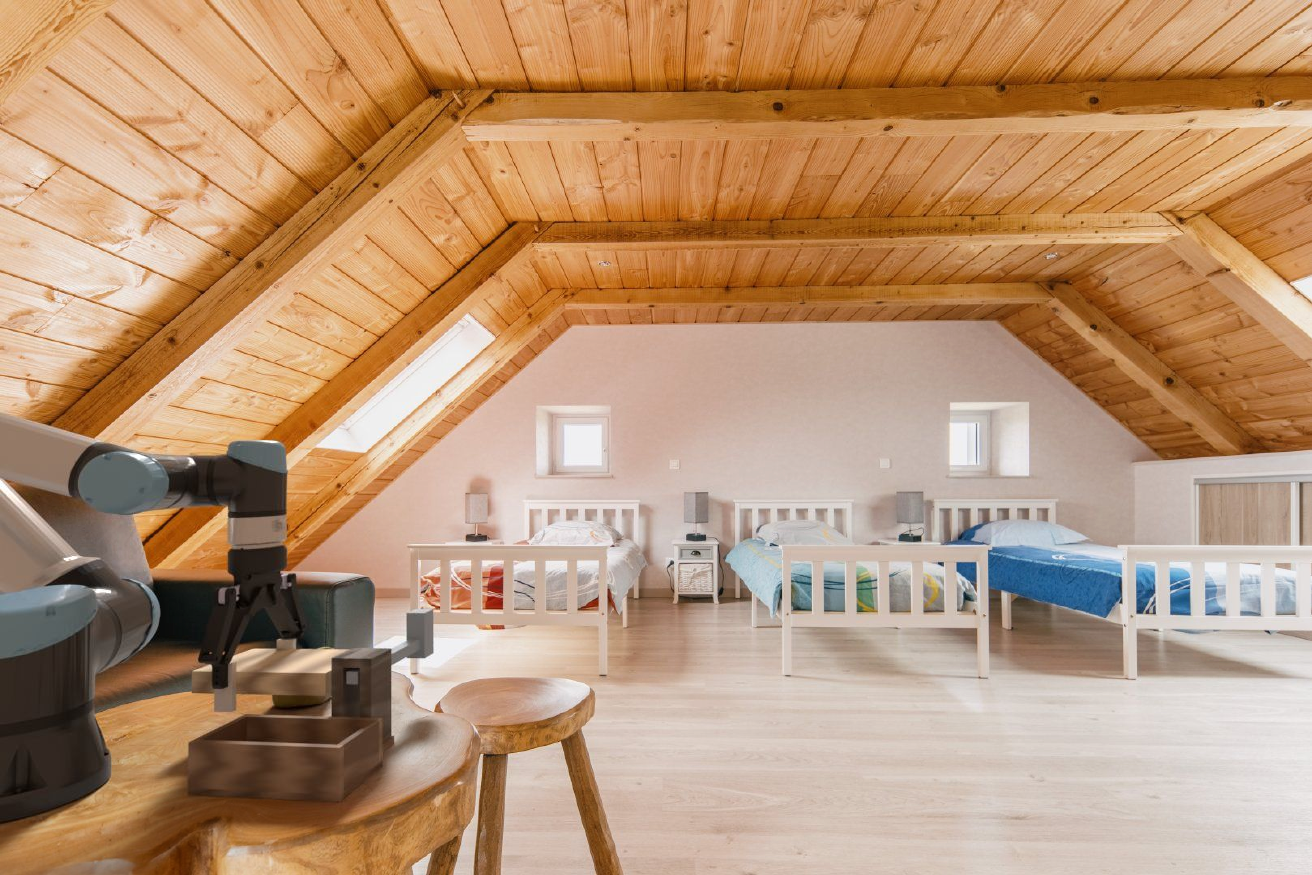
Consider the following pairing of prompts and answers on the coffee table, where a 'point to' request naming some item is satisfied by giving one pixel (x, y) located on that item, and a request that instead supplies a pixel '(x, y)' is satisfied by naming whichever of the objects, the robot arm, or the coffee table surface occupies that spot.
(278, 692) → the lid
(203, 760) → the toolbox
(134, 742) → the coffee table surface
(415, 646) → the sliding bolt
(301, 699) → the mug
